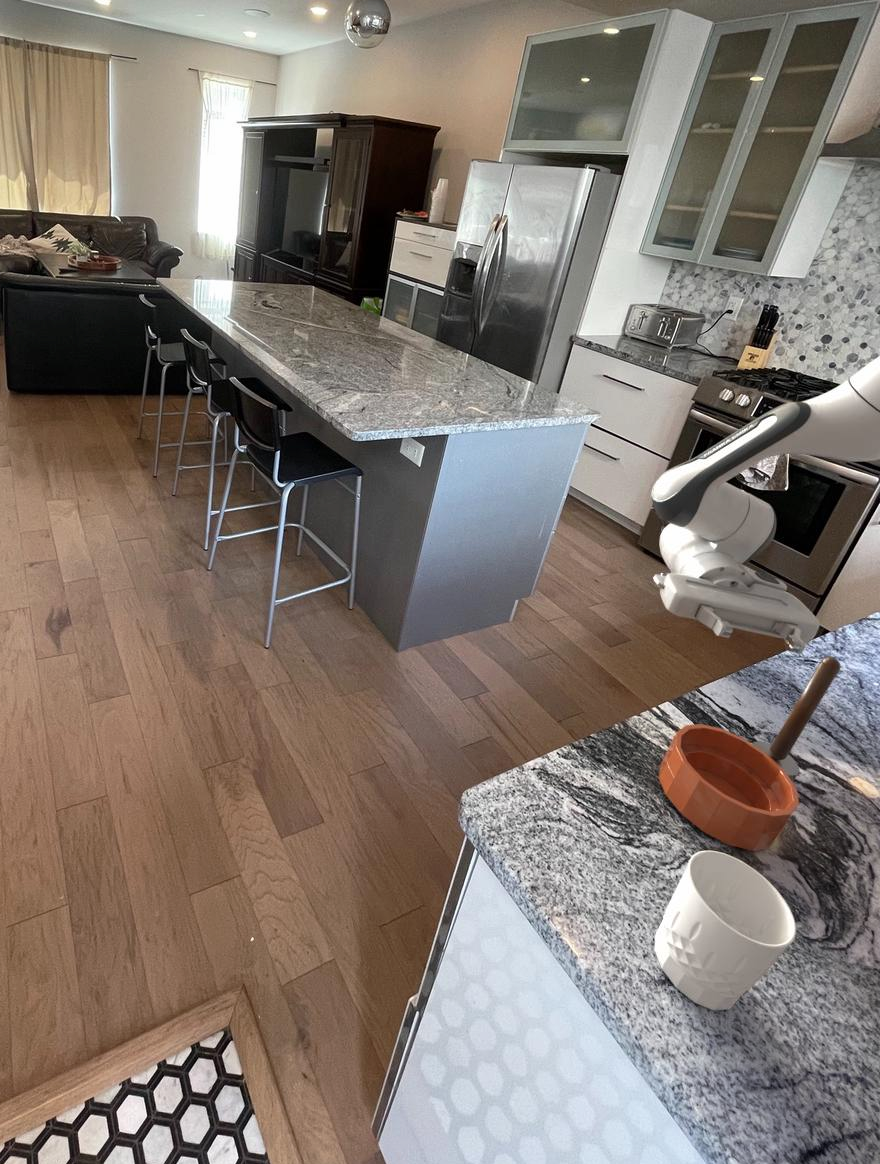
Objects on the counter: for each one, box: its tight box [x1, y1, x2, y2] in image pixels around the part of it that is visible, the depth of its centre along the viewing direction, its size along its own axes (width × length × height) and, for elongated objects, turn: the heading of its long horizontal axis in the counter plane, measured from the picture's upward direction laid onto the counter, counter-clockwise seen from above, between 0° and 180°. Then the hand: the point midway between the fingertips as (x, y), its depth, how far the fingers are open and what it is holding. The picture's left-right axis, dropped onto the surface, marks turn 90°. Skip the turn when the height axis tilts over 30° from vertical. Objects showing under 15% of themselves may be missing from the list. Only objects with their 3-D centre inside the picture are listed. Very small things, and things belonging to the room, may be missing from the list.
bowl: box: [658, 723, 800, 852], centre depth 72 cm, size 12×12×6 cm
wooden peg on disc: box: [751, 656, 842, 783], centre depth 77 cm, size 5×5×18 cm
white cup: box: [654, 850, 797, 1011], centre depth 54 cm, size 8×8×10 cm
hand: (761, 640), depth 86 cm, fingers open, 8 cm apart
